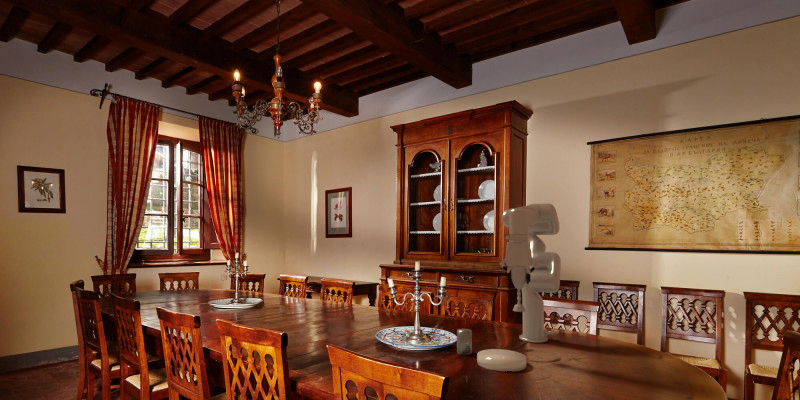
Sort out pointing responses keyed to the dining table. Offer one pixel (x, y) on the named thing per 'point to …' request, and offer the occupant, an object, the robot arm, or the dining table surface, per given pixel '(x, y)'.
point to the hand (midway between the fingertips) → (518, 282)
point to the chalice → (518, 284)
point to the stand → (501, 360)
